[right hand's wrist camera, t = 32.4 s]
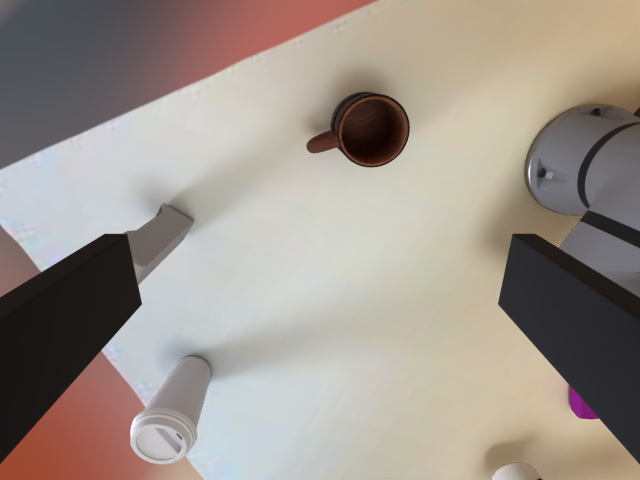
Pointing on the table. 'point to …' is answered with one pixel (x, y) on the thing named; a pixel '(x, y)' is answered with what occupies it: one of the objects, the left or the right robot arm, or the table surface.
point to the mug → (366, 130)
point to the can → (516, 472)
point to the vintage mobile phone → (157, 240)
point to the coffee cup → (172, 414)
